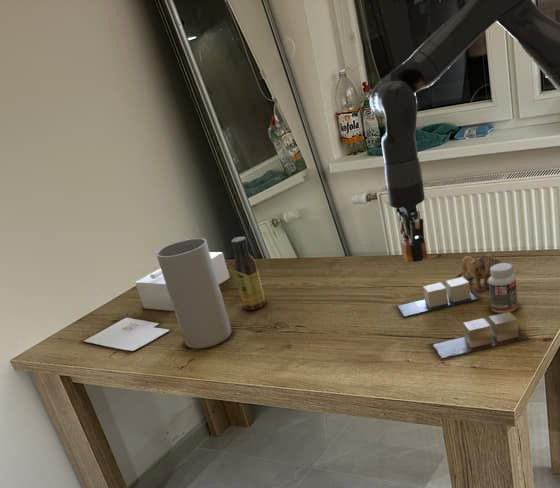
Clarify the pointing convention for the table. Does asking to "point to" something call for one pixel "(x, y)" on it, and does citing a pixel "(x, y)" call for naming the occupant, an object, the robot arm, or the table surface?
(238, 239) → the sauce bottle
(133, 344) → the paper
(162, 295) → the tissue box
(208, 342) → the cylinder vase
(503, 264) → the pill bottle
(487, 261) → the lion figurine
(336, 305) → the table surface
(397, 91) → the robot arm
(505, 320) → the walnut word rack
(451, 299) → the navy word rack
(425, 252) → the orange cube
